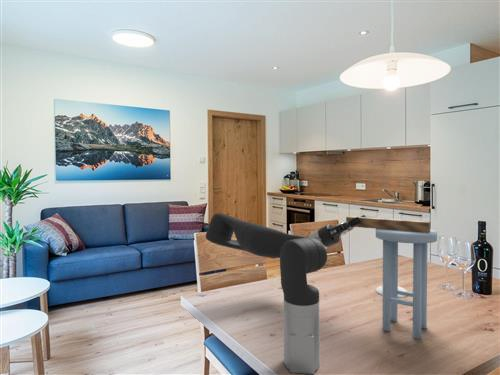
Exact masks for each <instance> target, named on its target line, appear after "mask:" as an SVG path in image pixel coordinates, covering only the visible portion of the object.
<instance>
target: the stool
mask: <svg viewBox="0 0 500 375" xmlns="http://www.w3.org/2000/svg"><path fill="white" fill-rule="evenodd" d="M375 238H377V239H378V240H382V285H383V295H382V310H381V311H382V316H381V317H382V318H381V319H382V320H381V321H382V322H381V324H382V326H381V327H382V330H383V331H385V332H390V331H391V322H393V323H394V322H398V308H399V307H398V305H402V306H407V307H411V308H412V338H414V339H416V340H421V339H422V329H427V328H428V326H427V324H428V322H427V320H428V319H427V317H428V248H429V247H428V245H429V244H432V243H435V242H437V241H438V231H436V230H435V229H431V228H430V232H429V233H423V232H411V231H399V230H387V229H375ZM400 243H401V244H413V249H412V250H413V251H412V252H413V253H412V256H413V257H412V260H413V261H412V275H413V276H412V291H408V290H407V291H402V290H398V286H399V284H398V282H399V280H398V279H399V273H398V272H399V266H398V265H399V244H400ZM398 294H399V295H404V296H407V297H410V298H412V301H411V300H406V299H403V298H402V299H401V298H398Z"/></svg>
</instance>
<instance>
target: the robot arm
mask: <svg viewBox="0 0 500 375" xmlns="http://www.w3.org/2000/svg"><path fill="white" fill-rule="evenodd" d="M355 217H356V218H354V219H352V220H350V221H349V222H348V221H346V220H345V222H341V223H339V224H338V223H337V224H336V225H332V224H329V223H328V224H326V225H324V226H322V227H320V228H318V229H317V230H314V231H313V232H311V233H310V234H308V235H306V236H302V235H295V234H290V233H286V232H283V231H280V230H277V229H274V228H271V227H268V226H265V225H262V224H258V223H253V222H249V221H244V220H241V219H239V218H236V217H233V216H231V215H227V214H225V213H219V212H217V213H214V214H213V215H212V217H211V218H210V222H209V224H208V227H207V230H206V233H205V239H206V240H207V241H209V242H210V243H212V244H214V245H218V246H222V247H224V248H225V247H226V248H229V249H230V248H231V249H234V250H239V251H244V252H247V253H249V254H253V255H255V256H257V257H265V258H270V259H279V269H280V270H279V272H280V284H281V285H280V286H281V290H282V292H283V365H284V366H285V368H287V369H288V370H289V373H291V374H292V373H293V374H310V375H312V374H313V375H314V374H315V371H317V370H318V369H319V368H320V292H319V289H318V287H316V286H314V285H311V284H309V283H308V278H307V274H312V273H315V272H317V271H319V270H321V269H322V268H323V267H324V266H326V264H327V260H328V252H327V250H326V249H328V248H331V247H333V246H335V245H336V244H338V243H340V237H342V236H344V235H346V234H347V233H348V232H351V231H352V230H354V229H355V227H353V226H355V225H357V224H359V223H361V220H360V218H359V217H367V216H366V215H364V214H362V215H361V216H355ZM351 226H352V227H351ZM233 235H234V236H235V239H236V240H235V239H232V237H233Z"/></svg>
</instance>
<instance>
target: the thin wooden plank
mask: <svg viewBox="0 0 500 375" xmlns="http://www.w3.org/2000/svg"><path fill="white" fill-rule="evenodd" d="M356 217H357V216H354V215H349V216H346V217H345V222H346V221H348V222H349V221H350V220H352V219H354V218H356ZM358 217H359V218H360V220H361V223H359V224H357V225H355V226H353V227H354V228H364V229H374V230H376V229H387V230H399V231H411V232H423V233H429V232H430V229H431V221H428V220H413V219H412V220H411V219H399V218H382V217H369V216H368V217H367V216H366V217H361V216H358ZM351 227H352V226H351Z"/></svg>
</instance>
